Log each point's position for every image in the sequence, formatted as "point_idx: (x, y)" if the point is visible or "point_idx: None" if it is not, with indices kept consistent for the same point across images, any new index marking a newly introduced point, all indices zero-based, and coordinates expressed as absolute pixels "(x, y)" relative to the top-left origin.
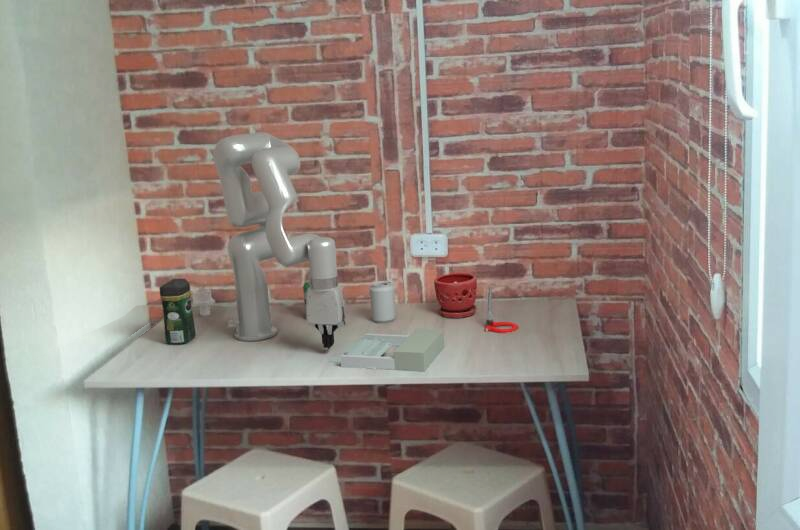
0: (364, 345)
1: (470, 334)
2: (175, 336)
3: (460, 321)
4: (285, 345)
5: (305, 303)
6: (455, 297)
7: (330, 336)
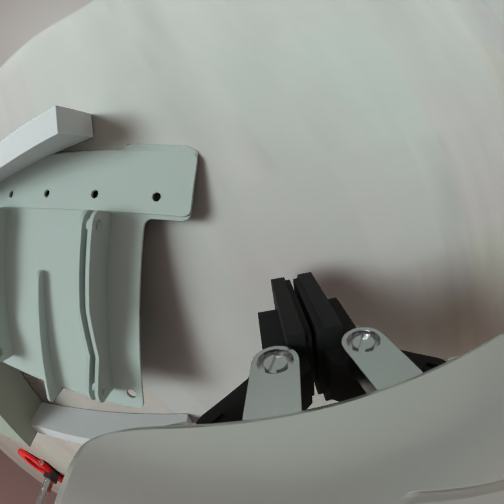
0: (75, 347)
1: (45, 453)
2: None
3: None
4: (483, 298)
5: None
6: None
7: (272, 345)
